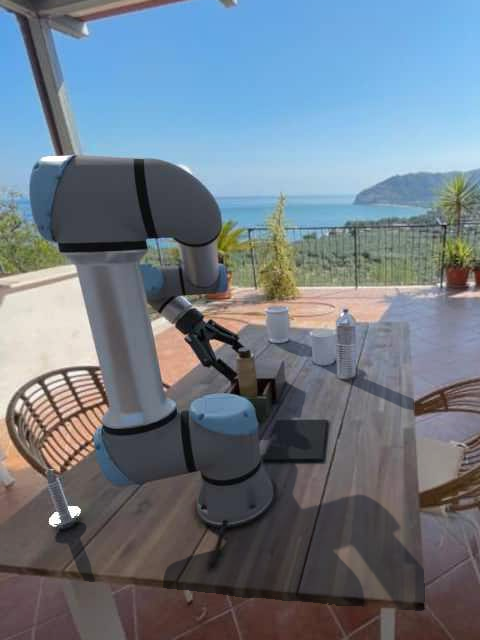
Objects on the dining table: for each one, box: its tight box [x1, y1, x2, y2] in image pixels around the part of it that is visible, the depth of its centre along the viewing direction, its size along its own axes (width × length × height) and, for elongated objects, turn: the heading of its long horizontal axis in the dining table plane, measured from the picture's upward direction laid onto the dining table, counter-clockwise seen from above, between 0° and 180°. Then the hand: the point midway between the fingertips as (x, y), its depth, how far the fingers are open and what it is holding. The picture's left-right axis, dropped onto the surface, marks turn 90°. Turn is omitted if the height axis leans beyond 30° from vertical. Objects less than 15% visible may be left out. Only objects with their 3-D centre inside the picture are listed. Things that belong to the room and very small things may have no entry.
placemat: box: [263, 419, 328, 463], centre depth 102 cm, size 18×14×1 cm
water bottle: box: [335, 307, 357, 381], centre depth 135 cm, size 7×7×25 cm
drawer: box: [226, 381, 274, 421], centre depth 113 cm, size 19×12×7 cm, turn 1°
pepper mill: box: [235, 346, 258, 397], centre depth 112 cm, size 5×5×18 cm
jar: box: [264, 305, 291, 344], centre depth 173 cm, size 11×10×15 cm
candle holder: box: [309, 328, 336, 366], centre depth 150 cm, size 10×10×12 cm
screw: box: [44, 468, 81, 530], centre depth 73 cm, size 13×5×5 cm
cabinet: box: [230, 358, 286, 404], centre depth 126 cm, size 16×14×9 cm
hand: (243, 368), depth 111 cm, fingers open, 13 cm apart
